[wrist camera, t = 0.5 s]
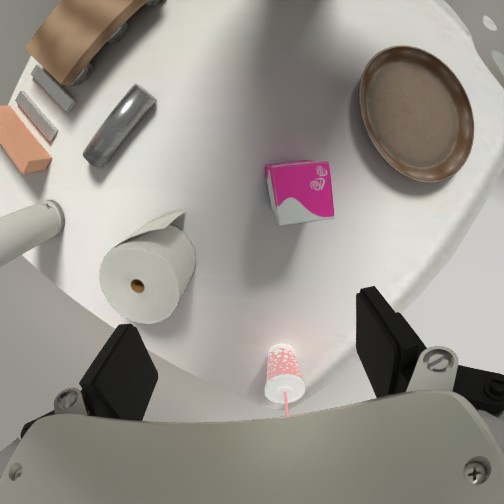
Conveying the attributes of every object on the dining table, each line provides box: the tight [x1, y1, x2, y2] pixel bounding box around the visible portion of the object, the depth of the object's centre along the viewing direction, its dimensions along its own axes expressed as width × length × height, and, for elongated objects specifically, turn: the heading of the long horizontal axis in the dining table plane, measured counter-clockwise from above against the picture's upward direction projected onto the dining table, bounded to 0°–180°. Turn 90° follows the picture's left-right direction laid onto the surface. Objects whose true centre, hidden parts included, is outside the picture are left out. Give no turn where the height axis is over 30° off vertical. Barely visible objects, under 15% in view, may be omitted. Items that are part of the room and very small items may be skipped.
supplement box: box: [265, 160, 334, 226], centre depth 31 cm, size 6×6×12 cm
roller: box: [83, 84, 156, 168], centre depth 32 cm, size 12×4×4 cm, turn 135°
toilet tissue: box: [100, 211, 196, 324], centre depth 36 cm, size 11×12×10 cm
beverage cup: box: [265, 344, 305, 416], centre depth 40 cm, size 6×6×14 cm
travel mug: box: [0, 200, 64, 267], centre depth 29 cm, size 6×7×20 cm
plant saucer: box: [359, 45, 474, 183], centre depth 31 cm, size 21×21×3 cm
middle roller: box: [107, 22, 128, 44], centre depth 26 cm, size 4×12×4 cm, turn 45°
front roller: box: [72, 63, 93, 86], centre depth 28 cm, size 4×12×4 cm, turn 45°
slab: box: [25, 0, 148, 87], centre depth 23 cm, size 20×14×2 cm
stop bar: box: [0, 105, 52, 174], centre depth 31 cm, size 2×18×6 cm, turn 45°
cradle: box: [15, 65, 76, 141], centre depth 31 cm, size 8×14×1 cm, turn 45°
